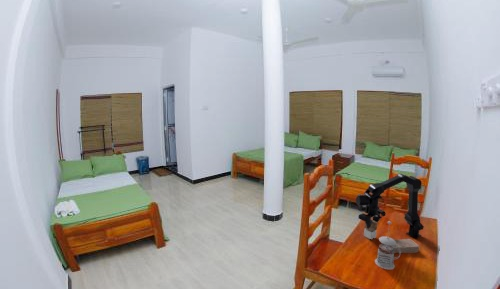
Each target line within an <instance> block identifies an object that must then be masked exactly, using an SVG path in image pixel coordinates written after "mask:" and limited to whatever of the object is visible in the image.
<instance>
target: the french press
mask: <svg viewBox="0 0 500 289" xmlns="http://www.w3.org/2000/svg"><path fill="white" fill-rule="evenodd" d="M387 224H388V226H390V225H392V221H390V220H388V221H387ZM389 230H390V229H388V231H387V235H389V232H390V231H389ZM393 239H394V238H392V237H389V236H380V237H379V238H378V240H379V242H380V243H381V244H379V246H378V249H377V258H375V259H374V263H375V264H376V265H377V267H379V268H382V269H383V270H384V269H385V270H394V269H395V268H396V266H395V263H394V262H395V259H396V260H398V259H399V258H400V257H401V254H402V253H401V250H400V251H399V252H400V253H399V255H398V256H395V253H394V249H395V247H396V246H397V245H395V244H396V242H395V240H396V239H395V240H393ZM393 245H395V247H394V248H393V247H392V246H393ZM397 247H398V246H397ZM397 247H396V248H397ZM398 248H399V247H398ZM398 248H397V249H398ZM399 249H400V248H399ZM399 249H398V250H399ZM392 252H393V253H392Z"/></svg>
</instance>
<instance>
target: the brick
mask: <svg viewBox="0 0 500 289" xmlns="http://www.w3.org/2000/svg"><path fill="white" fill-rule="evenodd" d="M392 239H393V240H395V242H396V244H395V245H397V246H398V247H399V248H400V249H399V248H398V247H397V246H396V247H397V248H398V249H399V250H398V249H397V248H396V247H395V245H393V246H392V247H393V248H394V247H395V249H394V254H400V252H399V251H400V250H401V254H415V253H418V252H419V251H420V245H419V244H418V243H416V242H415V241H414V240H412V238H403V239H396V238H392ZM392 253H393V252H392ZM392 253H391V254H392Z"/></svg>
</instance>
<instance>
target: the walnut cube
mask: <svg viewBox="0 0 500 289" xmlns="http://www.w3.org/2000/svg"><path fill="white" fill-rule="evenodd" d="M372 220H373V219H372ZM364 229H368V228H367V226H366V222H365V221H364ZM368 230H369V231H371V232H372V231H374V230H376V231H377V230H378V223H377V222H376V221H374V220H373V221H372V223H371V225H370V228H369V229H368Z"/></svg>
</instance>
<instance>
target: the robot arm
mask: <svg viewBox="0 0 500 289" xmlns="http://www.w3.org/2000/svg"><path fill="white" fill-rule="evenodd" d="M401 183H405V185H406V187H407V189H408V210H407V212H404V217H403V218H404V219H405V221H406V223H407V224H408V225H409V227H408V232H406V233H405V234H406V235H407V236H409V237H412V238H413V239H418V238H420V237H422V235H421V234H420V231H421V230H424V228H425V226H424V225H423V224H422V223H421V218H420V215H419V213H418V205H419V204H418V201H419V191H420V190H421V188H422V184H423V182H422V180H421V179H420V178H417V177H415V176H413V175H409V176H408V175H406V174H403V173H398V174H397V175H395V176H392V177H391V178H389V179H386V180H384V181H382V182H376V183H371V184H370V185H368V187H367V189H366V190H365V191H364V193H363V194H357V196H356V198H355V203H356V205H357V206H358V207H357V208H358V211H359V212H360V214H358V220H361V221H363V222H364V223H365V222H366V226H367V228H368V229H369V228H370V225H371V223H372V221H373V220H374V221H376V222H377V224H378V222H380V221H381V219H382V218H383V217H385V216H386V212H385V210H383V209H380V206H379V204H380V203H379V199H381V200H382V199H383V197H382V196H381V195H382V194H384V193H385V192H386V190H388V189H390V188H392V187H394V186H397V185H399V184H401ZM361 212H362V213H361ZM363 212H364V213H363Z"/></svg>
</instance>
